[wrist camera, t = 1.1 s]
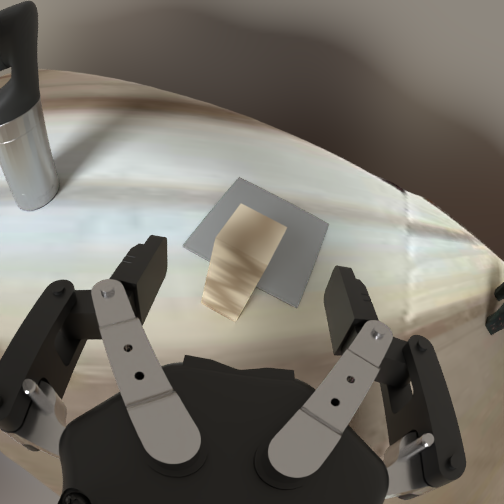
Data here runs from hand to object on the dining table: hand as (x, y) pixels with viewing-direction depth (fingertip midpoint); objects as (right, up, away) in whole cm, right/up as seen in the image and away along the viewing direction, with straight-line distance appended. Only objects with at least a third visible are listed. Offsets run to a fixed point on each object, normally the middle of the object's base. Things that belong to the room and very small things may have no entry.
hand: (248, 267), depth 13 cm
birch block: (-3, -5, +23) cm, 24 cm away
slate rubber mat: (+2, +3, +31) cm, 31 cm away
